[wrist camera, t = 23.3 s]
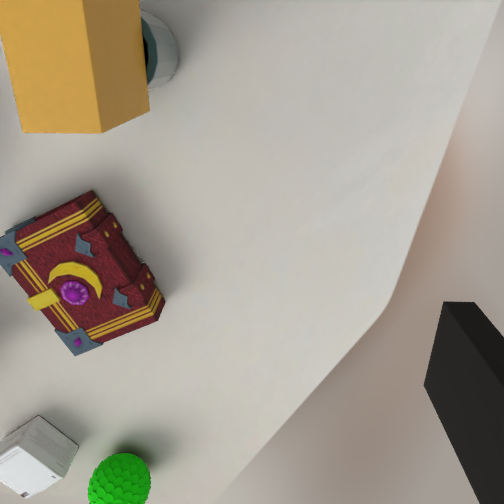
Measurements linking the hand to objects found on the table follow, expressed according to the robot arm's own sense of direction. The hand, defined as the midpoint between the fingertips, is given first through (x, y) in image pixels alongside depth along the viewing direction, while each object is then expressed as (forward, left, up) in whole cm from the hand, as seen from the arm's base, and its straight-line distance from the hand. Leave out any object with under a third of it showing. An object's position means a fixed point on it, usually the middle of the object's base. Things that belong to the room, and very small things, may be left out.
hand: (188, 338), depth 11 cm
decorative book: (+17, +15, -32) cm, 39 cm away
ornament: (+17, +46, -32) cm, 58 cm away
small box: (+29, +43, -32) cm, 61 cm away
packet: (+9, -7, -24) cm, 26 cm away
